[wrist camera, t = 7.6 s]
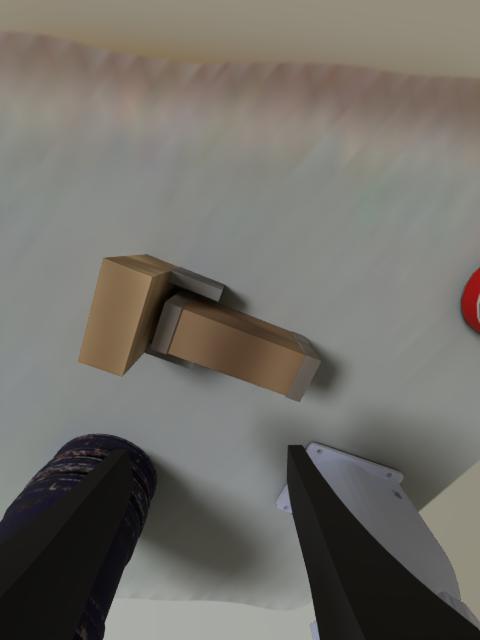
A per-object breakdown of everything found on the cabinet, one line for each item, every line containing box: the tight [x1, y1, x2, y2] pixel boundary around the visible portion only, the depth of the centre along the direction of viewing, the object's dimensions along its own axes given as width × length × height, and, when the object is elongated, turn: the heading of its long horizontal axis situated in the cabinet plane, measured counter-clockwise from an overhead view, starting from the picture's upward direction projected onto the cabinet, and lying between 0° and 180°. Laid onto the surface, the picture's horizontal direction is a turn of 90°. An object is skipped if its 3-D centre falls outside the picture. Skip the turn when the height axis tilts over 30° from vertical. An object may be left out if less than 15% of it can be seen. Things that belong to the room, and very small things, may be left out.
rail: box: [150, 289, 321, 402], centre depth 18 cm, size 10×3×5 cm, turn 68°
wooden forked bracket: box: [78, 254, 225, 377], centre depth 16 cm, size 6×6×6 cm
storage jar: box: [0, 434, 157, 640], centre depth 17 cm, size 10×10×15 cm
